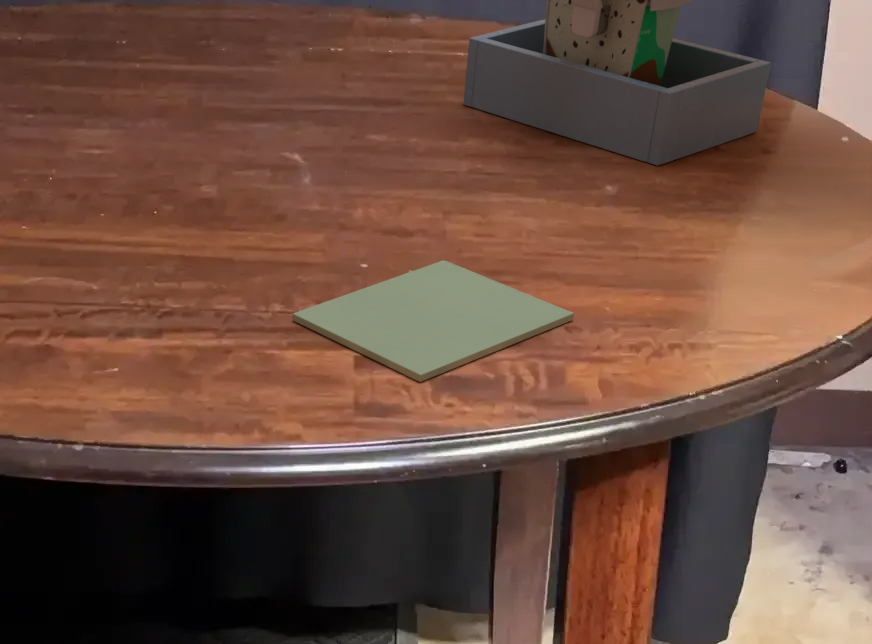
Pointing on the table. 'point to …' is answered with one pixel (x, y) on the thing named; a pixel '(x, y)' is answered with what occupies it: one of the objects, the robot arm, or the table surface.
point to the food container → (617, 37)
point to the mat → (432, 319)
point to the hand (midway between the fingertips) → (624, 24)
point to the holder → (618, 95)
